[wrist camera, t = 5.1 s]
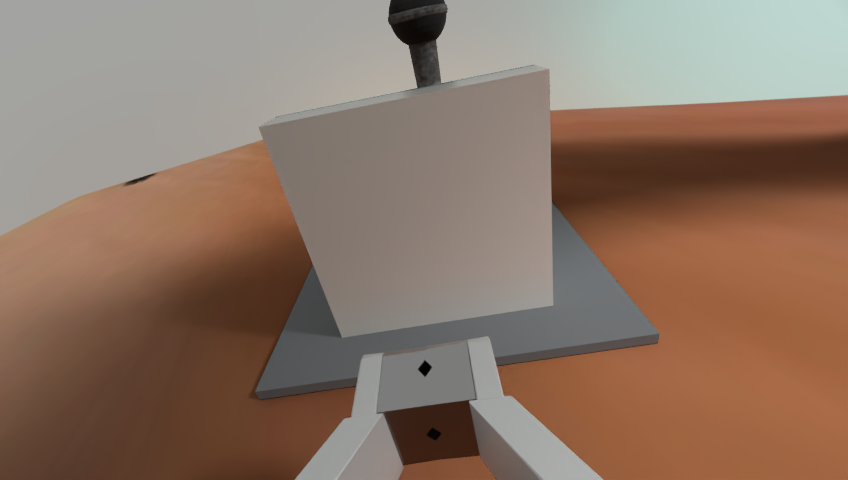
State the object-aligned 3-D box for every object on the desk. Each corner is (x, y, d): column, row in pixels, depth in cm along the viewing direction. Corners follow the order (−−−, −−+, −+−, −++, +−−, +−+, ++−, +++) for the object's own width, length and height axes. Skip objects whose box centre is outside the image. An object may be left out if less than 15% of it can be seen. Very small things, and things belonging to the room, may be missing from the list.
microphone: (413, 155, 53) (379, -10, 43) (459, 145, 53) (436, -21, 43) (419, 169, 47) (382, -19, 37) (472, 157, 47) (448, -32, 37)
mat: (657, 342, 18) (659, 333, 17) (259, 399, 19) (254, 391, 19) (543, 197, 33) (543, 191, 33) (330, 234, 35) (328, 229, 34)
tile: (553, 305, 20) (549, 69, 14) (341, 337, 21) (258, 127, 15) (540, 281, 22) (532, 64, 16) (348, 311, 23) (276, 116, 17)
